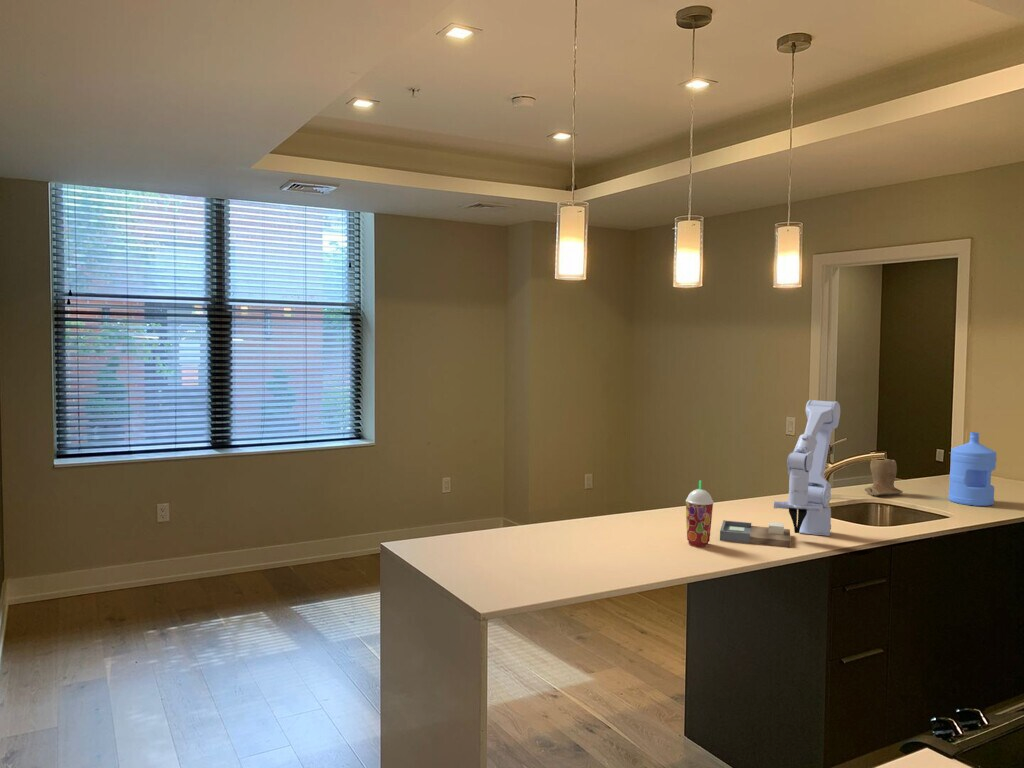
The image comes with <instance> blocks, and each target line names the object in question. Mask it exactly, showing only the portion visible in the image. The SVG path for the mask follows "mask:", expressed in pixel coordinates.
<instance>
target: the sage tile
mask: <svg viewBox="0 0 1024 768" xmlns="http://www.w3.org/2000/svg"><path fill="white" fill-rule="evenodd" d="M729 531H732V532H743V533H744V528H743V527H732V526H730V528H729Z"/></svg>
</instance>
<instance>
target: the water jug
mask: <svg viewBox="0 0 1024 768" xmlns="http://www.w3.org/2000/svg"><path fill="white" fill-rule="evenodd" d="M969 434H970V435H969V442H967V443H964V444H961V445H958V446H955V447H952V448H951V451H950V467H949V469H950V471H949V487H948V500H949V501H950V502H951V503H954V504H958V503H959V505H963V504H964V506H970V505H973V506H972V507H990V505H991V506H992V505H994V504H995V486H994V485H992V483H991V482H992V481H991V479H992V472H993V471H995V470H996V465H997V452H996V451H995V450H993V449H992V448H989V447H988V446H985V445H984V444H982V443H980V432H978V431H976V432H975V431H970V432H969Z"/></svg>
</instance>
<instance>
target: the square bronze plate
mask: <svg viewBox="0 0 1024 768" xmlns="http://www.w3.org/2000/svg"><path fill="white" fill-rule="evenodd" d="M791 542H792V541H791V529H789V528H784V535H782V534H771V533H769V526H759V525H757V526H755V525H751V532H750V543H749V544H754V545H763V546H775V547H781V548H782V547H785V548H791Z"/></svg>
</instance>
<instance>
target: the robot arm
mask: <svg viewBox="0 0 1024 768" xmlns="http://www.w3.org/2000/svg"><path fill="white" fill-rule="evenodd" d="M805 416H806V419H807V422H806V426H805V429H804V432H803V433H802V434H800V435H799V437H798V438H797V442H796V445H795V447H794V449H793V451H792V452H790V453H789V454H788V455H787V459H786V460H787V461H786V466H787V474H788V476H789V481H788V483H789V484H788V501H776V500H774V501H773V509H781V510H782V509H783V510H788V514H789V516H790V518H791V520H792V523H793V525H792V526H793V529H794V534H804V535H805V534H807V535H815V536H828V537H830V536H831V530H832V524H831V522H832V520H831V519H832V509H831V507H830V506H829V504H830V502H831V497H832V496H831V495H832V493H831V492H832V491H831V490H832V485H831V483H830V482H829V481H828V480H827V479H826V478H825V477H824V476H825V471H826V466H827V460H828V454H829V448H830V443H831V437H832V433H833V430H835V429H837V428H838V426H839V424H840V423H839V422H840V419H841V418H840V416H841V405H840V403H839V402H838V401H829V400H814V399H809V400H808V401H807V402H806V405H805Z"/></svg>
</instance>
